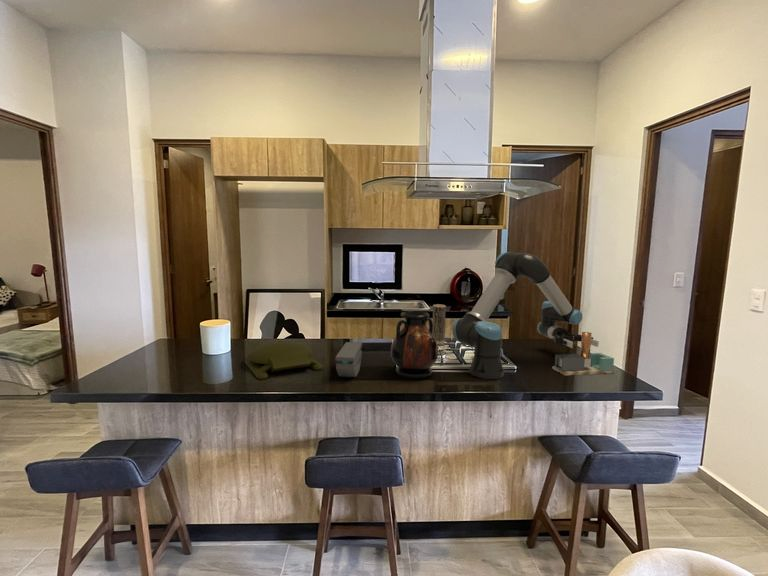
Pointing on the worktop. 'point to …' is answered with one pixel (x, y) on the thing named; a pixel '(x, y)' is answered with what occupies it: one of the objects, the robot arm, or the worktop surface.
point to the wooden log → (439, 323)
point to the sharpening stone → (349, 360)
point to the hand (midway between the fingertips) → (585, 344)
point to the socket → (602, 361)
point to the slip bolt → (584, 349)
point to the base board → (586, 371)
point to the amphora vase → (414, 346)
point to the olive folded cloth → (280, 358)
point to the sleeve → (570, 362)
